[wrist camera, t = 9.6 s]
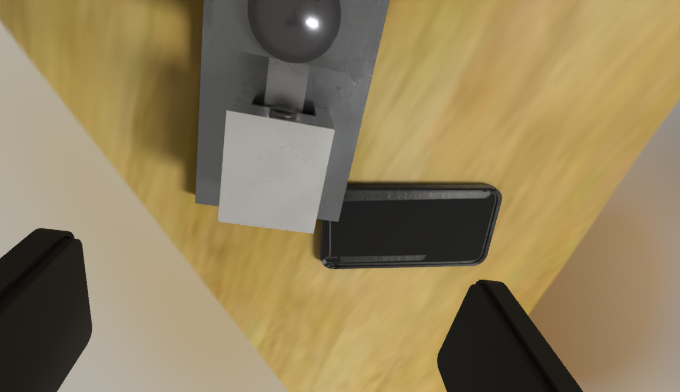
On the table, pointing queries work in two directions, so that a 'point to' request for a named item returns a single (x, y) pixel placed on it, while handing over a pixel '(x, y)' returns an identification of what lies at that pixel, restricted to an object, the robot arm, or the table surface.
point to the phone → (411, 226)
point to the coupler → (287, 75)
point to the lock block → (273, 165)
